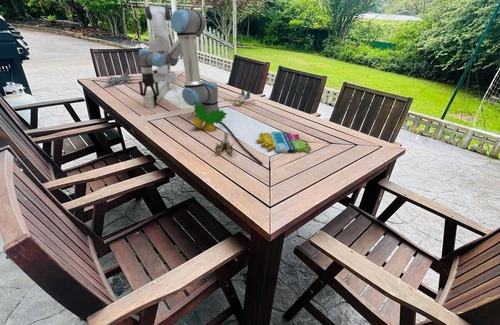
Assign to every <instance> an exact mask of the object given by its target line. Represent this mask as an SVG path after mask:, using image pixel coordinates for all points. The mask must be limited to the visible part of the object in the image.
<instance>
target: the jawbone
mask: <svg viewBox="0 0 500 325" xmlns="http://www.w3.org/2000/svg"><path fill="white" fill-rule="evenodd" d="M228 132H229V131H226V132H224V134H223V135H224V136H223V140H222V139H221V142H220V144H218V142H215V144H216V146H215V148H214V149H215V152H214V154H215V155H217V156H218V155H220V153H221V152H223V151H224V150H226V152H227V153H228V155H229V156H233V155H234V154H233V153H234V148H233V144H234V143H230V140H228V139H229V138H228V137H229V136H228V135H229V133H228Z"/></svg>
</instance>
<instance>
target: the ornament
mask: <svg viewBox="0 0 500 325" xmlns="http://www.w3.org/2000/svg"><path fill="white" fill-rule="evenodd" d="M219 110H220V108H219V109H217V110H216V111H214V110H212V112H211V113H208V112H206V109H204V106H201V104H198V103H197V102H196V105H194V106H193V112H194V113H195V118H192V119H191V122H192V123H193V125H195V127H197V128H198V129H202V130H203V131H206V132H212V131H213V132H214V131H215V130H216V126H215V124H218V123H219V121H220V122H222V123H223V119H226V115H227V114H228V113H227V112H224V110H223V109H221V110H220V111H219ZM207 113H208V115H207ZM214 123H215V124H214Z"/></svg>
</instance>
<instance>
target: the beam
mask: <svg viewBox="0 0 500 325" xmlns="http://www.w3.org/2000/svg"><path fill="white" fill-rule="evenodd" d="M168 85H169V83H168V82H167V81H160V82H159V83H158V89H159V96H157V101H156V105H157V104H158V103H159V102H160V100H161V99H162V98H163V97H164V96H165V95H166V94H167V92H168V91H169V90H170V89H171V88H170V87H168ZM154 89H155V91H156V86H155V85H154ZM156 94H157V92H156ZM143 101H144V107H145V109H153V108H155V107H156V105H155V104H154V93H153V91H152V89H150V90H149V91H148V92H146V95H145V96H144V97H143Z"/></svg>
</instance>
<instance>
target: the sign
mask: <svg viewBox="0 0 500 325" xmlns="http://www.w3.org/2000/svg"><path fill="white" fill-rule="evenodd" d="M299 136H300V135H299V134H298V133H296V134H294V133H291V132H287V131H270V132H264V133H263V132H260V133H259V139H258V138H257V139H256V143H257V144H261V148H263V147H264V148H265V149H267V151H268V152H271V151H272V150H273V149H275V152H276V153H283V154H285V153H287V154H288V153H290V154H293V153H296V152H298V153H301V152H305V153H310V151H311V150H312V149H311V148H312V146H309V142H304V141H303V139H302V138H299Z"/></svg>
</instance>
